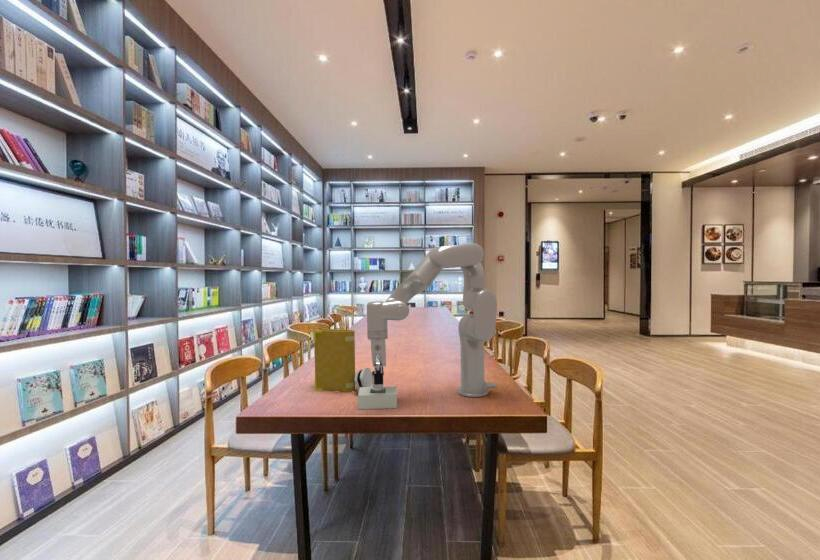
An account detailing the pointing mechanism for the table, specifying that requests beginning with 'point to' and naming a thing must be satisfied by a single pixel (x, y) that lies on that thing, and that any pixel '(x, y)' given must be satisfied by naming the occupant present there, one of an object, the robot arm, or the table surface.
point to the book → (334, 360)
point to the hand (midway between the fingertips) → (379, 380)
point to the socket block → (377, 398)
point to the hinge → (364, 378)
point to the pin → (378, 387)
